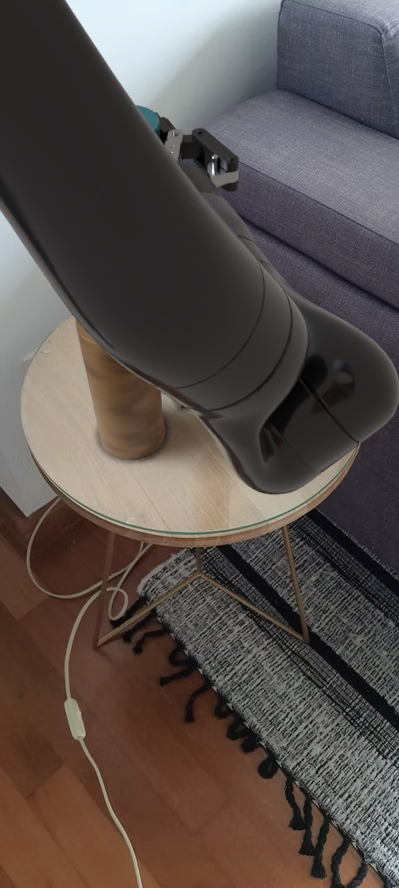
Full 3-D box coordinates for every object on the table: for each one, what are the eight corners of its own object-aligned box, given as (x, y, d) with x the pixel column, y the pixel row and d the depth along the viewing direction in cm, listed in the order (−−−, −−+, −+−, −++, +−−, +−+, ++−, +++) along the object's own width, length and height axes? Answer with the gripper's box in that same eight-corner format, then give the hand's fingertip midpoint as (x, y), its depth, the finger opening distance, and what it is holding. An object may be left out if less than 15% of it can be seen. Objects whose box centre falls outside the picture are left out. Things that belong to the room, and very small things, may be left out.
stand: (112, 467, 78) (89, 355, 64) (91, 420, 83) (65, 305, 68) (174, 446, 80) (165, 331, 66) (151, 401, 84) (137, 284, 70)
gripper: (287, 170, 47) (192, 68, 56) (83, 223, 43) (20, 105, 53) (280, 261, 52) (195, 155, 62) (100, 314, 49) (40, 193, 59)
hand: (115, 132), depth 57 cm, fingers closed on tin, 6 cm apart
